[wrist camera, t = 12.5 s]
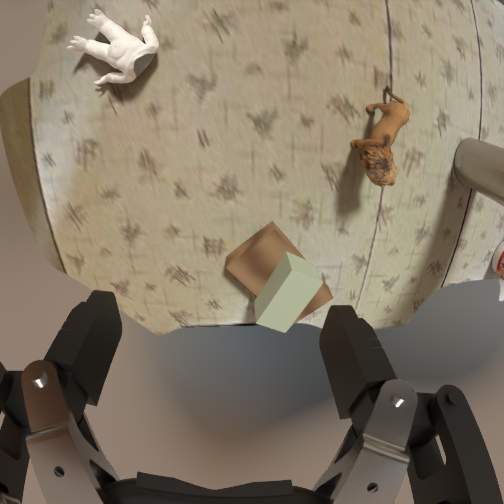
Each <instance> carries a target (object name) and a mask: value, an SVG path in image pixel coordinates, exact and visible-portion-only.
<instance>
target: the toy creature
mask: <svg viewBox="0 0 504 504" xmlns="http://www.w3.org/2000/svg"><path fill="white" fill-rule="evenodd" d="M145 16H146V17H145V18H146V20H147V21H144V23H143V28H142V36H143V37H144V40H145V43H146V44H144V43H143V42H141V41H140V40H139V39H138V38H136V37H134V36H131V35H130V34H129V33H127V32H126V31H124V30H123V29H122V28H121V27H120V26H118V25H116V24H115V23H114V22H113V21H111V20H110V19H108V18H107V17H106V16H104V14H103V13H102V12H101V11H100V10H97V9H95V15H93V14H90V18H91V19H87V20H86V21H87V22H88V23H89V24H92V25H93V26H95V27H98V30H99V31H100V32H101V33H102V34H104V35H105V36H106V37H107V39H108V40H109V41H110V42H111V43H110V45H109V44H105V43H101V42H97V41H95V40H87V39H84V38H81V37H80V36H74V39H75V40H73V41H70V43H71V44H72V45H71V46H69V47H67V49H68V50H70V51H83V52H85V53H87V54H89V55H92V56H94V57H95V58H97V59H101V60H103V61H105V62H107V63H109V64H110V65H111V66H112V67H114V68H116V69H119V70H120V71H122V72H123V73H122V72H120V73H116V72H112V73H108V74H107V75H105V76H103V77H101V78H100V79H101V80H100V81H98V80H97V81H96V82H94V83H95V84H97V85H99V84H105V83H106V82H111V83H129V82H132V81H133V80H134V79H135V78H136V77H138V76H139V75H140V74H141V73H142V72H143V71H144V70H145V69H146V67H147V66H148V65H149V64H150V62H151V61H152V59H153V58H154V57H155V54H156V52H157V50H158V48H159V42H158V39H157V37H156V36H155V33H154V31H153V29H152V28H151V27H150V26H151V20H150V17H149V16H148V15H145Z"/></svg>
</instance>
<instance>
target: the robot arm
mask: <svg viewBox="0 0 504 504" xmlns="http://www.w3.org/2000/svg"><path fill="white" fill-rule="evenodd" d="M455 171H456V175H457V177H458V179H459V180H460V182H461V183H463V184H464V185H466V186H468V187H470V188H472V189H474V190H476V191H477V192H479V193H481V194H483V195H485V196H486V197H488V198H490V199H492V200H494V201H495V202H497V203H499V204H500V205H502V206H504V148H501V147H498V146H495V145H492V144H489V143H486V142H483V141H480V140H477V139H473V138H467V139H465V140H463V141H462V142H461V143H460V145H459V147H458V149H457V151H456V155H455ZM121 335H122V322H121V318H120V314H119V310H118V306H117V302H116V298H115V295H114V293H113V292H109V291H100V290H94V291H93V292H92V293H91V295H90V296H89V298H88V299H87V301H86V302H81V303H80V304H78V305H77V306H76V307H75V308H74V309H72V311H71V312H70V314H69V316H68V317H67V319H66V321H65V322H64V324H63V326H62V329H61V330H60V331H59V332H58V334H57V336H56V338H55V339H54V341H53V343H52V345H51V347H50V348H49V350H48V352H47V354H46V356H45V358H44V359H43V360H36V361H33V362H32V363H30V364H29V365H28V366H27V367H26V368H25V369H24V371H7V370H6V369H5V367H4V366H3V365H2V363H1V362H0V414H1V411H2V412H3V413H4V414H5V417H4V420H3V423H2V426H1V429H0V504H22V497H23V490H24V484H25V478H26V473H27V468H28V463H29V458H30V459H31V462H32V465H33V468H34V471H35V473H36V476H37V479H38V482H39V485H40V487H41V490H42V492H43V494H44V497H45V499H46V501H47V504H394V501H395V499H396V497H397V494H398V492H399V489H400V486H401V484H402V482H403V479H404V476H405V473H406V470H407V472H408V476H409V481H410V484H411V489H412V494H413V499H414V504H503V501H502V496H501V492H500V489H499V485H498V481H497V478H496V475H495V471H494V468H493V465H492V462H491V459H490V456H489V453H488V451H487V448H486V445H485V442H484V440H483V437H482V435H481V432H480V430H479V427H478V425H477V423H476V420H475V418H474V415H473V413H472V411H471V409H470V406H469V404H468V402H467V400H466V398H465V396H464V394H463V393H462V391H461V390H460V389H459V388H457V387H455V386H453V385H444V386H442V387H441V388H440V389H439V390H438V391H437V392H436V393H435V394H431V393H418V392H416V391H415V389H414V388H413V387H412V386H411V385H410V384H409V383H407V382H405V381H403V380H399V379H397V377H396V375H395V373H394V371H393V368H392V366H391V364H390V362H389V360H388V358H387V356H386V354H385V352H384V350H383V348H381V344H380V342H379V340H377V336H376V334H375V332H374V330H373V328H372V327H371V326H370V325H369V324H368V323H367V322H366V321H365V320H364V319H363V318H358V317H357V315H356V313H355V311H354V309H353V307H352V306H351V305H332V306H331V307H330V308H329V311H328V314H327V317H326V320H325V323H324V326H323V328H322V331H321V334H320V340H319V345H320V350H321V354H322V357H323V361H324V364H325V367H326V371H327V374H328V378H329V381H330V385H331V388H332V392H333V395H334V399H335V402H336V406H337V409H338V413H339V417H340V419H346V418H351V420H352V423H353V424H352V425H351V426H350V428H349V430H348V432H347V434H346V436H345V438H344V440H343V442H342V444H341V446H340V448H339V450H338V451H337V453H336V455H335V457H334V459H333V461H332V462H331V464H330V466H329V467H328V469H327V470H326V471H325V472H324V473H323V475H322V476H321V477H320V479H319V480H318V481H317V483H316V484H315V486H314V488H313V489H312V490H309V489H306V488H302V487H297V486H292V481H291V480H282V481H267V482H252V483H248V484H244V485H239V486H234V487H229V488H224V489H218V490H210V489H207V488H204V487H200V486H197V485H194V484H190V483H187V482H184V481H181V480H178V479H176V478H171V477H164V476H158V475H152V474H147V473H142V472H137V478H130V479H123V480H120V478H119V476H118V475H117V473H116V471H115V470H114V468H113V467H112V465H111V464H110V463H109V461H108V460H107V459H106V457H105V455H104V454H103V452H102V450H101V448H100V445H99V443H98V441H97V439H96V437H95V435H94V433H93V430H92V428H91V426H90V423H89V421H88V418H87V416H86V414H85V412H84V409H85V406H86V404H90V405H94V406H97V404H98V401H99V397H100V394H101V391H102V388H103V385H104V382H105V379H106V377H107V374H108V371H109V368H110V365H111V362H112V360H113V357H114V354H115V352H116V349H117V346H118V343H119V341H120V339H121ZM438 435H439V437H440V440H441V443H442V446H443V449H444V452H445V455H446V464H445V465H444V463H443V460H442V456H441V454H440V450H439V447H438V444H437V441H436V438H435V437H436V436H438Z"/></svg>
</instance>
